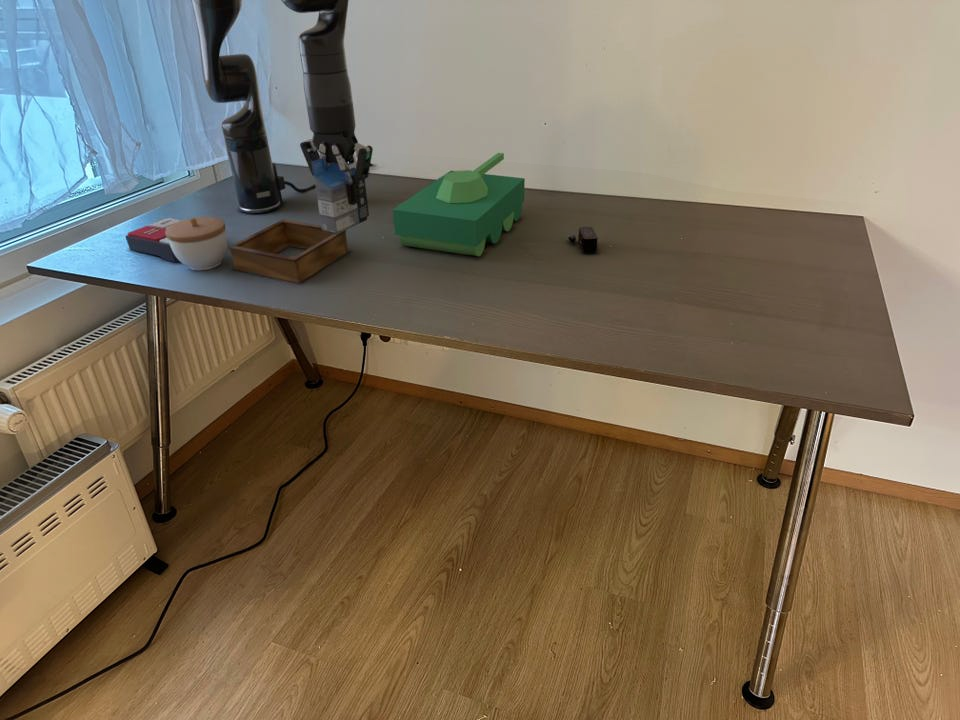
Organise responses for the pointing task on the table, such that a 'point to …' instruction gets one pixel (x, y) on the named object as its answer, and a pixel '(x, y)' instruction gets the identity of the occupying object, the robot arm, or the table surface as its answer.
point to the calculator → (153, 239)
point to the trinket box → (198, 242)
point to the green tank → (461, 211)
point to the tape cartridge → (337, 199)
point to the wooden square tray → (263, 246)
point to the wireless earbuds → (586, 239)
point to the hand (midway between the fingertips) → (343, 201)
